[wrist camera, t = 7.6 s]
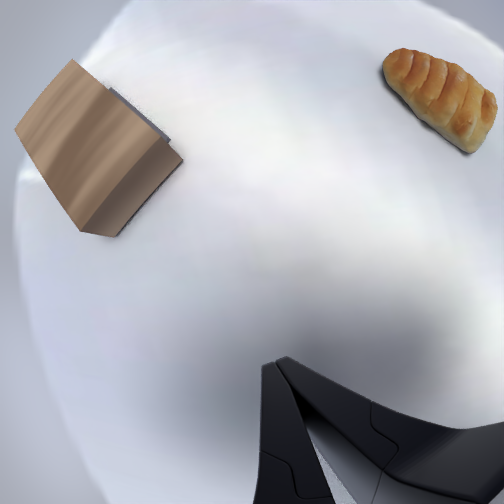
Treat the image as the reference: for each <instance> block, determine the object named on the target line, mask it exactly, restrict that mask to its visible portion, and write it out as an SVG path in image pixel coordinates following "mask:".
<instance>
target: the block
mask: <svg viewBox="0 0 504 504" xmlns="http://www.w3.org/2000/svg"><path fill="white" fill-rule="evenodd" d="M15 132H16V134H17V135H18V137H19V139H20V141H21V142H22V144H23V146H24V148H25V149H26V151H27V153H28V154H29V156H30V158H31V159H32V161H33V163H34V164H35V166H36V167H37V169H38V171H39V172H40V174H41V175H42V177H43V179H44V180H45V182H46V183H47V185H48V186H49V188H50V189H51V191H52V192H53V194H54V195H55V197H56V198H57V200H58V201H59V203H60V204H61V205H62V207H63V208H64V210H65V211H66V213H67V214H68V215H69V217H70V218H71V220H72V221H73V222H74V224H75V225H76V226H77V228H78V229H79V231H81V232H86V233H92V234H97V235H103V236H108V237H115V236H116V235H117V233H118V232H119V231H120V230H121V229H122V227H123V226H124V225H125V224H126V222H127V221H128V220H129V219H130V218H131V217H132V215H133V214H134V213H135V212H136V211H137V209H138V208H139V207H140V206H141V205H142V204H143V203H144V201H145V200H146V199H147V198H148V197H149V196H150V195H151V193H152V192H153V191H154V190H155V189H156V188H157V187H158V186H159V185H160V184H161V182H162V181H163V180H164V179H165V178H166V177H167V176H168V175H169V174H170V173H171V172H172V171H173V170H174V168H175V167H176V166H177V165H178V164H179V163H180V162H181V161H182V160H183V159H182V158H181V157H180V156H179V155H178V154H177V153H176V152H175V151H174V150H173V149H172V147H171V146H170V145H169V144H168V143H167V142H166V141H165V140H164V139H163V138H162V137H161V136H160V135H159V134H158V133H157V132H156V131H155V130H153V129H152V128H151V127H150V126H149V125H148V124H147V123H146V122H144V121H143V120H142V119H141V118H140V117H139V116H138V115H137V114H135V113H134V112H133V111H132V110H131V109H130V108H129V107H127V106H126V105H125V104H124V103H123V102H122V101H121V100H119V99H118V98H117V97H116V96H115V95H114V94H113V93H111V92H110V91H109V90H108V89H107V88H106V87H105V86H103V85H102V84H101V83H100V82H99V81H98V80H96V79H95V78H94V77H93V76H92V75H91V74H89V73H88V72H87V71H86V70H85V69H84V68H82V67H81V66H80V65H79V64H78V63H77V62H75V61H74V60H73V59H72V60H71V61H70V62H69V63H68V64H67V65H66V66H65V67H64V68H63V69H62V70H61V71H60V72H59V74H58V75H57V76H56V77H55V78H54V79H53V80H52V82H51V83H50V84H49V85H48V86H47V87H46V88H45V90H44V91H43V92H42V93H41V94H40V96H39V97H38V98H37V100H36V101H35V102H34V103H33V105H32V106H31V107H30V109H29V110H28V111H27V112H26V114H25V115H24V116H23V118H22V119H21V121H20V122H19V123H18V125H17V126H16V128H15Z"/></svg>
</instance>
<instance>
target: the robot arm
mask: <svg viewBox="0 0 504 504" xmlns="http://www.w3.org/2000/svg"><path fill="white" fill-rule="evenodd" d="M311 440H312V441H311ZM312 442H313V443H314V444H315V446H316V447H317V449H318V450H319V452H320V453H321V454H322V456H323V457H324V459H325V460H326V462H327V463H328V464H329V466H330V467H331V469H332V470H333V471H334V473H335V474H336V476H337V477H338V478H339V480H340V481H341V482H342V484H343V485H344V487H345V488H346V489H347V491H348V492H349V493H350V495H351V496H352V497H353V499H354V500H355V501H356V503H357V504H504V422H500V423H495V424H491V425H486V426H481V427H476V428H469V429H456V428H450V427H445V426H442V425H438V424H434V423H431V422H427V421H424V420H421V419H417V418H414V417H411V416H408V415H405V414H402V413H399V412H396V411H394V410H392V409H389V408H387V407H385V406H382V405H380V404H378V403H376V402H374V401H372V402H371V400H370V399H368V398H366V397H364V396H362V395H360V394H358V393H356V392H354V391H352V390H350V389H348V388H346V387H344V386H342V385H340V384H338V383H336V382H334V381H332V380H330V379H328V378H326V377H325V376H323V375H321V374H319V373H317V372H315V371H313V370H311V369H310V368H308V367H306V366H304V365H302V364H300V363H299V362H297V361H295V360H293V359H291V358H290V357H287V356H286V357H283V358H280V359H278V360H276V361H275V362H270V363H267V364H265V365H263V366H262V368H261V410H260V446H259V451H260V452H259V467H258V478H257V485H256V491H255V496H254V501H253V504H336V503H335V501H334V498H333V496H332V493H331V491H330V488H329V485H328V483H327V480H326V478H325V475H324V473H323V470H322V467H321V465H320V462H319V460H318V457H317V454H316V452H315V449H314V447H313V444H312Z"/></svg>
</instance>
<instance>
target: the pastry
mask: <svg viewBox="0 0 504 504" xmlns="http://www.w3.org/2000/svg"><path fill="white" fill-rule="evenodd" d="M383 71H384V76H385V79H386V81H387V83H388V85H389V86H390V87H391V88H392V89H393V90H394V91H395V92H396V93H398V94H399V95H400V96H401V97H402V98H403V99H404V101H405V102H406V103H407V104H408V105H409V106H410V108H411V109H412V111H413V112H414V114H415V115H416V116H417V117H418V118H419V119H420V120H423V121H425V122H426V123H427V124H428V125H429V126H431V127H432V128H433V129H435V130H436V131H437V132H438V133H439V134H440V135H441V136H442V137H444V138H445V139H447V140H448V141H449V142H451V143H452V144H453V145H455V146H456V147H458V148H460V149H461V150H463V151H465V152H467V153H474V152H476V151H477V150H478V148H479V147H480V146H481V145H482V143H483V142H484V140H485V138H486V135H487V134H488V132H489V130H490V129H491V128H492V126H493V123H494V120H495V118H496V114H497V110H498V107H497V104H496V98H495V96H494V94H493V93H491V92H490V91H489V90H487V89H485V88H483V86H482V85H481V84H479V83H478V82H477V81H476V80H475V79H474V78H473V76H471V75H470V74H468V73H467V72H465V71H464V70H463V68H462V67H460V66H459V65H457V64H455V63H450V62H447V61H444V60H442V59H438V58H434V57H433V56H430V55H429V54H426V53H423V52H419V51H416V50H408V49H405V48H401V49H398V50H395V51H393V52H392V53H390V54H389V55H388V56H387V57H386V58H385V60H384V61H383Z"/></svg>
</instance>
